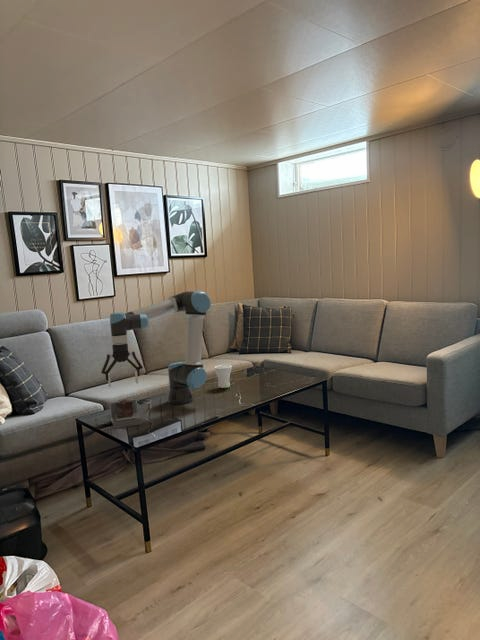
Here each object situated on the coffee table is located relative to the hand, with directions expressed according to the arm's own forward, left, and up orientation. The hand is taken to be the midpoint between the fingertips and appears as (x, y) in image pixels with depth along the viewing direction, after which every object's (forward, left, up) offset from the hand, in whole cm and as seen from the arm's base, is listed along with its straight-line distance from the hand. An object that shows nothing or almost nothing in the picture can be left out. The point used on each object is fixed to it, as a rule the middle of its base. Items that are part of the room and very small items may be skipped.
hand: (123, 384), depth 240 cm
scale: (0, -1, -20) cm, 20 cm away
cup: (-68, -41, -20) cm, 82 cm away
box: (0, 0, -16) cm, 16 cm away
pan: (0, 0, -17) cm, 17 cm away
